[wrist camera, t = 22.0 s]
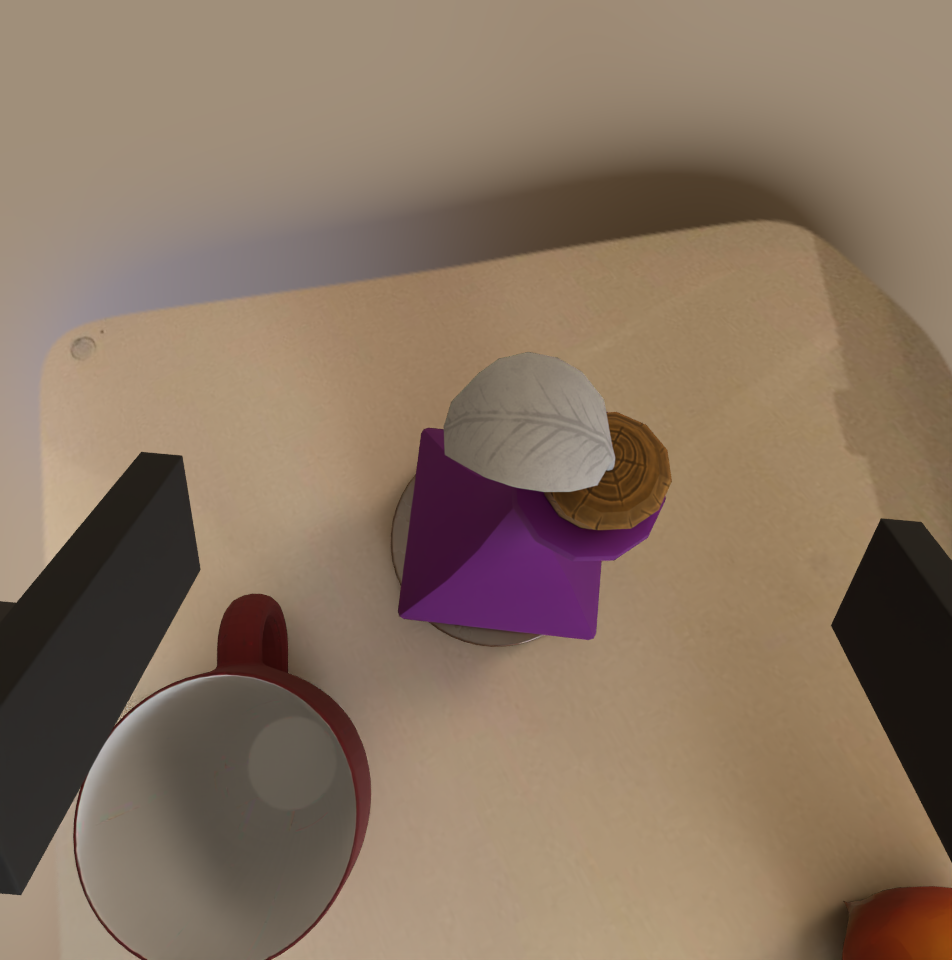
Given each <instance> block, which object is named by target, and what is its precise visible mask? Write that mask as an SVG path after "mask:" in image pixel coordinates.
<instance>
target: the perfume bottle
mask: <svg viewBox="0 0 952 960" xmlns="http://www.w3.org/2000/svg"><path fill="white" fill-rule="evenodd" d="M671 482H672V479H671V472H670V465H669V459H668V452H667V449H666V448H665V447H664V446H663V444H662V443H661V442H660V441H659V440H658V438H657V437H656V436H655V435H654V434H653V432H652V431H651V430H650V429H649V428H648V426H647V425H645V424H643V423H641V422H638V421H636V420H634V419H631V418H629V417H627V416H624V415H622V414H620V413H618V412H609V413H608V412H606V408H605V403H604V399H603V398H602V396H601V395H600V394H599V393H598V391H597V390H596V389H595V388H594V386H593V385H592V384H591V382H590V381H589V380H588V379H587V377H586V376H585V375H584V374H583V372H581V371H580V370H578V369H576V368H575V367H573V366H571V365H569V364H568V363H566V362H564V361H563V360H561V359H559V358H557V357H552V356H547V355H542V354H537V353H532V352H526V353H522V354H517V355H513V356H509V357H504V358H500V359H498V360H496V361H495V362H493V363H492V364H491V365H489V366H488V367H486V368H485V369H484V370H482V371H481V372H479V373H478V374H477V375H476V376H475V377H474V378H473V379H472V381H471V382H470V383H469V384H468V385H467V386H466V387H465V388H464V389H463V390H462V391H461V392H460V393H459V394H458V395H457V396H456V397H455V398H454V399H453V401H452V402H451V405H450V408H449V411H448V415H447V418H446V421H445V424H444V429H435V428H426V429H424V430H423V431H422V433H421V439H420V447H419V454H418V462H417V470H416V477H415V485H414V492H413V500H412V508H411V515H410V523H409V530H408V538H407V546H406V553H405V561H404V568H403V576H402V584H401V591H400V599H399V606H398V613H399V616H400V617H402V618H403V619H410V620H418V621H427V622H436V623H445V624H454V625H462V626H471V627H480V628H489V629H498V630H506V631H515V632H524V633H533V634H541V635H550V636H559V637H568V638H577V639H585V640H589V639H593V638H594V636H595V634H596V627H597V614H598V600H599V587H600V574H601V561H608V560H615V559H617V558H618V557H620V556H621V555H623V554H624V553H626V552H627V551H629V550H630V549H632V548H633V547H635V546H636V545H638V544H639V543H641V542H642V541H644V540H645V539H647V538H648V536H649V534H650V532H651V530H652V528H653V525H654V523H655V521H656V519H657V517H658V515H659V513H660V511H661V508H662V506H663V504H664V502H665V499H666V497H665V495H666V493H667V491H668V489H669V486H670V484H671Z"/></svg>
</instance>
